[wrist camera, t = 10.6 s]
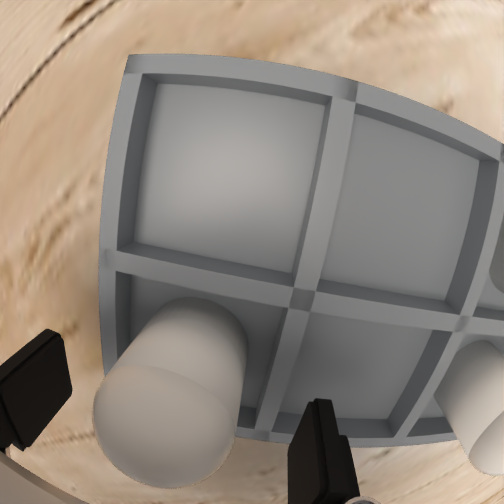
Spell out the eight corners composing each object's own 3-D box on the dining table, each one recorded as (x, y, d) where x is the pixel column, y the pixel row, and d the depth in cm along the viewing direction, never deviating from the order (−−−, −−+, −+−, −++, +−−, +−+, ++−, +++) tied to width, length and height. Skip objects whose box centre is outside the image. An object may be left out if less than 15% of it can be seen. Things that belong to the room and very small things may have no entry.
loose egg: (239, 391, 14) (217, 522, 6) (148, 369, 14) (84, 481, 7) (257, 309, 12) (238, 452, 5) (151, 286, 12) (49, 390, 5)
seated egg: (473, 403, 13) (522, 480, 6) (420, 406, 13) (466, 504, 6) (506, 341, 12) (576, 411, 5) (456, 338, 12) (534, 430, 5)
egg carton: (473, 416, 14) (484, 434, 12) (122, 379, 15) (108, 401, 13) (559, 195, 10) (581, 200, 8) (148, 69, 10) (128, 54, 9)
